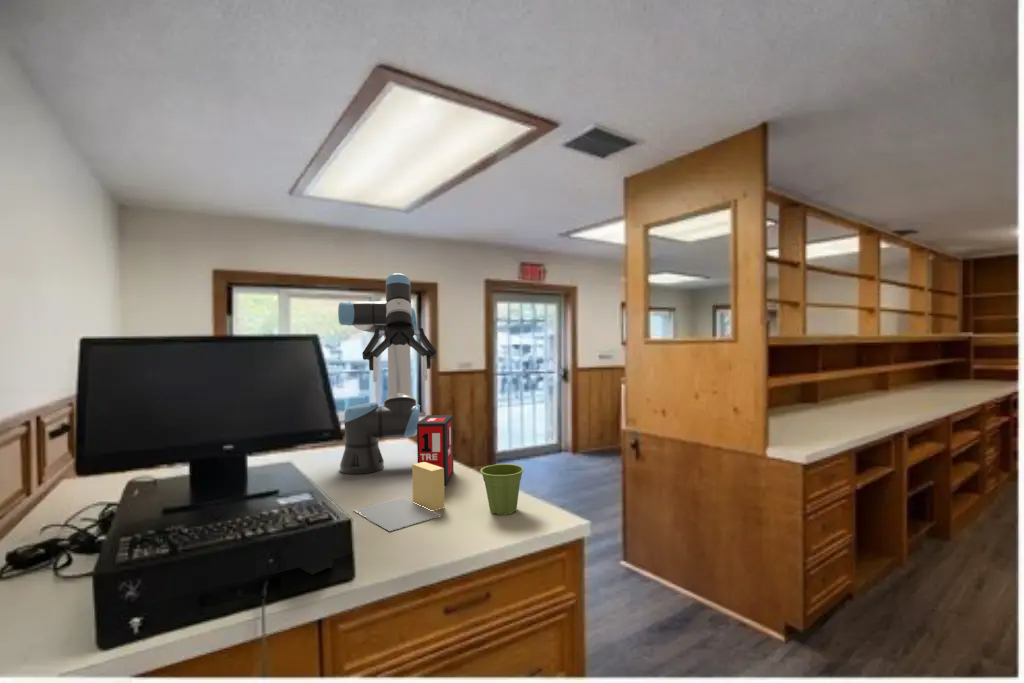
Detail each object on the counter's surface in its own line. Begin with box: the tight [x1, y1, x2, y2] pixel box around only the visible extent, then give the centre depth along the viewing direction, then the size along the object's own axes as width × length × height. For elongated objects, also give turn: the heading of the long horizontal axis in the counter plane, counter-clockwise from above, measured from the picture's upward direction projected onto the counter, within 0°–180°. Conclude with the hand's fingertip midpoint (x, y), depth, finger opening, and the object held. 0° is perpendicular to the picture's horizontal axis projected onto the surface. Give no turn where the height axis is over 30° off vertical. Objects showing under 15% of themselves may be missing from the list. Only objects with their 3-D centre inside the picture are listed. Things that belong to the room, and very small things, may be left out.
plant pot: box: [479, 463, 525, 516], centre depth 133 cm, size 12×12×11 cm
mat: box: [356, 497, 442, 533], centre depth 132 cm, size 20×15×1 cm
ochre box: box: [411, 462, 446, 511], centre depth 139 cm, size 10×4×11 cm, turn 42°
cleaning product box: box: [416, 414, 454, 487], centre depth 164 cm, size 16×9×20 cm, turn 179°
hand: (400, 378), depth 135 cm, fingers open, 13 cm apart
